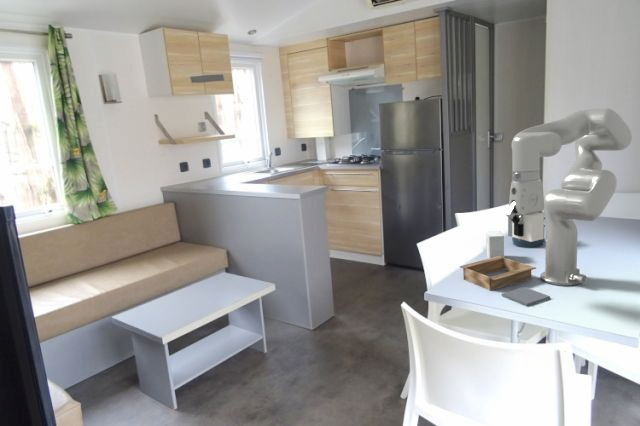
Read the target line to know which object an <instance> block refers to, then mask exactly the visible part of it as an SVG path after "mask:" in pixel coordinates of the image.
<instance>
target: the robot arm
mask: <svg viewBox="0 0 640 426" xmlns="http://www.w3.org/2000/svg"><path fill="white" fill-rule="evenodd" d="M631 142H632V130H631V128H630V126H629V125H628V124H627V123H626V122H625V120H624V119H623V118H622V117H621V115H620V114H618V113H617V112H616V111H615V110H613V109H611V108H607V107H605V108H604V107H603V108H591V109H580V110H577V111H575V112H573V113H572V112H571V113H570V114H569V115H567V116H565V117H562V118H559V119H558V120H552V121H548V122H546V123H543V124H537V125H534V126H531V127H528V128H526V129H523V130H521V131H519V132H518V133H516V135H514V137H513V138H512V141H511V149H512V150H511V151H512V152H511V154H512V155H511V156H512V157H511V158H512V160H511V162H512V163H511V164H512V166H511V167H512V169H511V183H510V190H509V197H508V199H509V200H508V210H507V212H506V213H505V215H506V217H507V218H508V217H509V218H510V219H511V220H512V222H513V223H514V235H516V236H520V237H522V236H523V231H524V225H523V224H522V221H523V215H528V214H532V213H536V212H540V213H541V212H543V213H544V217H545V219H544V221H545V257H544V259H545V260H544V261H545V263H544V264H545V266H544V267H545V269H544V271H543V272H541V273H540V277H539V278H540V280H541V281H543V282H544V283H548V284H551V285H556V286H564V287H565V286H574V285H575V286H576V285H578V284H580V283H582V284H583V283H585V281H586V279H587V274H584V273H583V274H582V273H581V272H580V268H577V266H578V263H577V262H578V238H579V237H578V233H579V232H578V227H577V226H576V223H575V222H574V220H577V221H584V222H586V221H587V222H593V221H596V220H598V218H599V217H600V216H601V215H602V213H603V212H604V210H606V209H605V208H606V207H607V206H608V204H609V202H610V201H611V199H612V198H613V196H614V194H615V192H616V188H617V181H618V180H617V177H616V174H614V172H613V171H611V170H608V169H603V163H602V161H601V159H600V157H599V156H598V155H597V154H596V153H595V151H609V152H611V151H613V152H614V151H624V150H626V149H627V148H629V146H630V145H631ZM572 143H574V146H575V147H574V148H575V161H574V163H573V164H572V165H571V167H570V168H569V170H568V171H567V172H566V174H565V175H564V176H563V178H562V181H561V184H560V188H557V189H551V190H549V191H547V192H546V193H545V194H544V187H543V183H542V179H541V178H540V171H541V170H540V160H541V159H540V158H545V157H546V158H547V157H552V156H553V157H554V156H555V155H557V154H558V153H559V152H560V151H561V150H562V147H563V146H567V145H570V144H572ZM517 215H519V219H518V218H517Z"/></svg>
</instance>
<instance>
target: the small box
mask: <svg viewBox="0 0 640 426" xmlns="http://www.w3.org/2000/svg"><path fill="white" fill-rule="evenodd" d="M485 236H486V237H485V239H486V240H485V241H486V242H485V243H486V256H487V259H490V258H493V257H497V256H500V257H503V258H505V236H504V234H503V233H502V232H501V231H498V230H497V231H496V230H495V231H486V232H485Z"/></svg>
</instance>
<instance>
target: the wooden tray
mask: <svg viewBox="0 0 640 426" xmlns="http://www.w3.org/2000/svg"><path fill="white" fill-rule="evenodd" d="M459 268H461V269H463V271H462V272H463V280H464V281H466V282H469V283H471V284H474V285H475V286H479V287H481V288H483V289H485V290H488V291H493V290H496V289H500V288H504V287H507V286H510V285H513V284H517V283H520V282H523V281H527V280H530V279H532V271H533V270H535V269H537V267H535V266H532V265H528V264H525V263H523V262H520V261H516V260H514V259H513V260H512V259H511V258H506V257H504V258H503V257H500V256H497V257H493V258H490V259H488V258H486V259H482V260H479V261H476V262H475V261H474V262H472V263H467V264H464V265H460V266H459ZM502 270H504V271H507V272H503V273H500V274H496V275H493V276H488V274H490V273H494V272H497V271H502Z"/></svg>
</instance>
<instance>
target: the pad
mask: <svg viewBox="0 0 640 426" xmlns="http://www.w3.org/2000/svg"><path fill="white" fill-rule="evenodd" d="M501 296H502V297H503V298H506V299H508V300H511V301H513V302H515V303H517V304H520V305H523V306H525V307H528V306H531V305H535V304H538V303H540V302H544V301H547V300H551V296H550V295H547V294H544V293H542V292H539V291H537V290H534V289H531V288H530V287H529V288H528V287H526V286H523V287H518V288H516V289H513V290H509V291H506V292H503V293H501Z"/></svg>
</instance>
